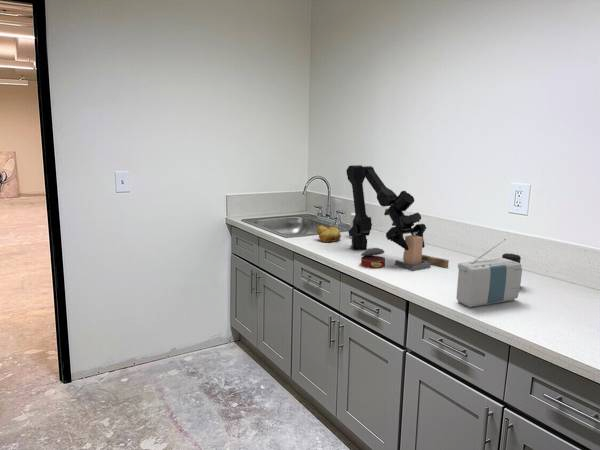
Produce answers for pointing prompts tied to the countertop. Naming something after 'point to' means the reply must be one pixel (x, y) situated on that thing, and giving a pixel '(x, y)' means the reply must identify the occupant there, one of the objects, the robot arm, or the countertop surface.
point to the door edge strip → (435, 261)
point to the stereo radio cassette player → (488, 281)
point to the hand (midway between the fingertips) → (415, 248)
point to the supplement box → (351, 221)
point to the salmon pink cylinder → (413, 249)
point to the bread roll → (328, 233)
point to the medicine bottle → (512, 258)
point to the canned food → (373, 258)
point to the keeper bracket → (413, 267)
